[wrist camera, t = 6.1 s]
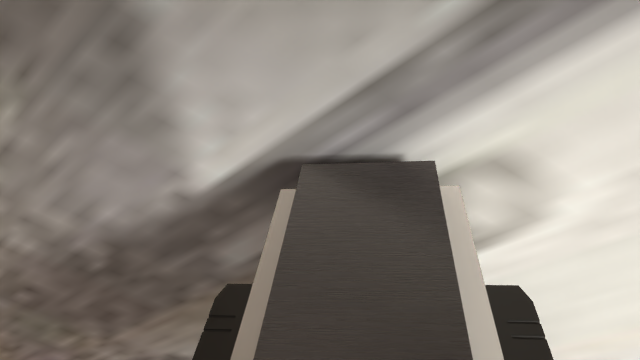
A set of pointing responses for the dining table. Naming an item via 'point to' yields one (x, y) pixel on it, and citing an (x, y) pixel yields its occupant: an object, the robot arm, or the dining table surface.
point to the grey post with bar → (365, 269)
